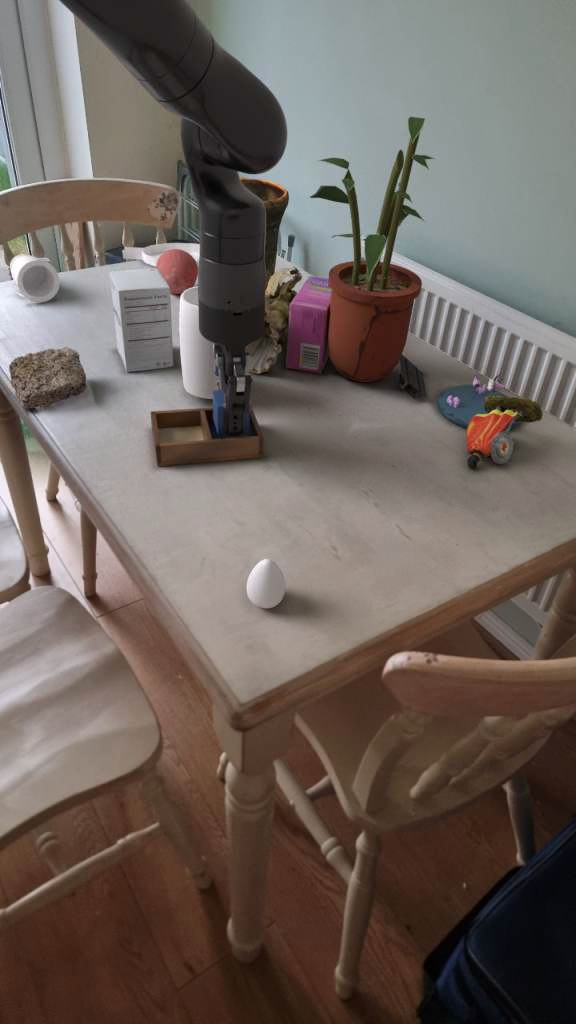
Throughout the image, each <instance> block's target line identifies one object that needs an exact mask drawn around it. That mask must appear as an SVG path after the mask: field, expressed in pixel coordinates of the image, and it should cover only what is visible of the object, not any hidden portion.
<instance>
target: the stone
mask: <svg viewBox="0 0 576 1024" xmlns="http://www.w3.org/2000/svg"><path fill="white" fill-rule="evenodd" d="M8 367H9V368H8V370H9V371H8V372H9V374H10V384H11V387H12V388H13V389H14V390H15V393H14V394H15V397H16V398H17V399H18V401H19V402H20V404H21V405H20V406H21V408H22V409H24V410H29V409H36V408H42V407H43V406H44V407H47V408H48V407H49V406H52V405H53V404H56V403H58V402H61V401H63V400H64V401H65V400H68V399H70V398H71V397H73V396H78V395H80V394H82V393H84V392H85V390H86V388H87V383H86V382H87V374H86V372H85V369H84V367H83V365H82V363H81V359H80V354H79V352H78V351H77V350H75V349H72V348H71V347H67V346H66V347H63V348H61V349H60V348H57V349H55V348H47V349H45V350H40V351H36V352H34V353H32V352H29V353H26V354H25V356H24V355H20V356H17V357H16V358H15V359H13V360H12V361H11V362H10V364H9V365H8Z"/></svg>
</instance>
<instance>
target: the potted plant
mask: <svg viewBox="0 0 576 1024" xmlns="http://www.w3.org/2000/svg"><path fill="white" fill-rule="evenodd" d="M425 120H426V118H425V117H416V116H409V117H408V119H407V129H408V132H409V135H410V137H409V141H408V145H407V149H406V154H405V155H404V152H403V149H399V151H398V152H397V154H396V156H395V157H396V158H395V160H394V162H393V165H392V168H391V172H390V176H389V180H388V182H387V186H386V190H385V195H384V198H383V203H382V206H381V210H380V215H379V219H378V224H377V225H378V226H377V228H376V234H373V233H371V234H369V233H368V234H367V235H366V237H365V238H363V241H364V250H363V251H364V252H363V253H364V259H365V260H362V238H361V236H362V234H361V225H360V214H359V205H358V197H357V192H356V187H355V185H356V182H355V180H354V179H353V176H352V174H351V171H350V168H349V166H350V161H348V160H346V159H344V158H341V157H329V158H322V159H319V160H318V162H324V163H326V164H330V165H333V166H336V167H338V168H339V167H340V168H342V169H345V170H347V171H346V173H345V175H344V178H341V183H342V184H343V186H344V188H345V191H346V192H345V191H344V190H343V189H341V188H340V187H338V186H336V185H320V186H319V188H318V189H317V190H316V192H315V193H313V194H312V195H310V196H309V198H310V199H323V200H325V201H330V202H334V203H340V204H346V205H348V206H349V213H350V219H351V220H350V221H351V230H352V233H343V234H335V235H332V236H330V238H334V237H343V238H350V239H351V238H352V245H353V246H352V247H353V260H352V261H345V262H341V263H338V264H336V265H334V266H332V267H331V268H330V270H329V271H328V278H327V279H328V284H329V286H330V288H331V289H332V292H331V302H330V312H329V323H328V334H327V338H328V350H329V359H330V360H331V362H332V364H333V366H334V368H335V369H336V371H337V372H339V373H340V374H341V375H342V376H343V377H344V378H347V379H349V380H351V381H353V382H359V383H373V382H376V381H380V380H381V379H384V378H385V377H387V376H389V374H390V373H391V372H393V370H394V369H395V368H396V367H397V366H398V365H399V363H400V357H401V355H403V352H404V350H405V348H406V344H407V339H408V335H409V330H410V326H411V319H412V314H413V310H414V304H415V299H417V298H418V297H419V295H420V294H421V291H422V287H423V286H422V285H423V281H422V279H421V277H420V276H419V275H418V274H417V273H415V272H414V271H412V270H410V269H409V268H406V267H403V266H401V265H397V264H393V263H392V258H393V253H394V247H395V243H396V239H397V234H398V230H399V227H401V226H402V223H403V221H404V220H405V219H406V218H407V217H408V216H413V217H415V218H418V219H420V220H421V221H422V222H423V223H426V221H425V220H424V218H422V216H421V215H420V214H419V213H418V211H417V210H416V209H414V208H411V206H408V205H406V204H404V202H405V199H406V200H408V201H409V202H410V203H413V200H412V198H411V195H410V194H409V193H407V189H408V186H409V181H410V178H411V177H410V176H411V172H412V167H413V163H414V161H415V162H416V163H418V164H419V165H421V166H423V167H425V168H426V169H427V170H430V168H429V165H428V164H427V160H435V158H434V157H432V156H430V155H427V154H417V153H416V151H417V146H418V143H419V140H420V135H421V131H422V130H423V128H424V126H425V125H424V124H425ZM400 176H401V177H400ZM399 178H400V180H399ZM398 181H399V182H398ZM397 185H398V189H396V188H397ZM384 249H385V251H384ZM383 254H384V256H383ZM382 257H383V261H381V259H382Z"/></svg>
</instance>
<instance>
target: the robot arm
mask: <svg viewBox="0 0 576 1024" xmlns="http://www.w3.org/2000/svg"><path fill="white" fill-rule="evenodd" d="M58 1H59V2H60V3H61V4H62V6H64V7H65V8H66V9H67V10H68V11H69V12H71V13H72V14H73V16H75V17H76V19H78V20H79V21H80V22H81V23H82V24H83V25H84V26H85V27H86V28H87V29H88V30H89V32H91V34H93V36H94V37H96V39H98V41H99V42H101V44H102V45H104V47H105V48H106V49H107V50H108V51H109V52H110V53H111V54H112V55H113V56H114V58H116V59H117V60H118V62H119V63H120V64H121V65H122V66H123V67H124V68H125V69H126V70H127V72H128V73H130V75H131V76H132V77H133V78H134V79H135V80H136V81H137V82H138V83H139V84H140V85H141V87H143V89H144V90H146V92H147V93H148V94H149V95H150V96H151V97H152V98H153V99H154V100H155V101H156V102H157V103H158V104H159V105H160V106H161V107H163V108H164V109H165V110H166V111H167V112H169V113H171V114H173V115H175V116H176V117H180V121H179V122H180V123H179V125H180V126H179V127H180V128H179V136H180V145H181V149H182V154H183V158H184V162H185V166H186V170H187V174H188V178H189V181H190V187H191V190H192V194H193V197H194V200H195V203H196V207H197V210H198V232H199V233H198V234H199V235H198V236H199V244H200V256H199V266H198V276H197V286H198V309H199V331H200V333H201V335H202V336H203V337H204V338H205V339H207V340H209V341H211V342H213V355H214V373H215V375H216V376H217V381H216V383H217V385H218V388H219V390H221V391H222V392H223V393H224V404H223V407H224V408H225V433H226V435H228V436H231V435H240V434H242V433H243V413H248V410H249V404H250V402H251V401H250V400H251V391H252V386H253V378H252V375H251V374H250V371H249V367H250V366H251V357H250V352H246V351H247V347H246V346H247V345H249V344H250V343H252V342H255V341H257V340H258V339H260V338H261V336H262V335H263V333H264V324H265V322H264V319H265V295H266V266H265V239H266V209H265V205H264V203H263V201H262V200H261V199H260V198H259V197H257V196H256V195H255V194H253V193H252V192H251V191H249V190H248V189H247V188H246V187H245V186H244V185H243V184H242V182H241V180H240V177H241V176H240V174H239V173H242V174H245V175H260V174H261V175H262V174H265V173H267V172H269V171H271V170H272V169H273V168H275V167H276V166H277V165H278V164H279V163H280V161H281V159H282V158H283V157H284V154H285V152H286V148H287V145H288V123H287V119H286V116H285V113H284V110H283V108H282V106H281V103H280V102H279V100H278V99H277V97H276V95H275V94H274V93H273V92H272V90H271V89H270V88H269V87H268V86H267V85H266V84H265V83H264V82H263V81H262V80H261V79H260V78H258V76H256V74H255V73H253V72H252V71H251V70H250V69H248V68H247V66H245V65H244V64H243V63H242V62H241V61H240V60H239V59H237V58H236V57H235V56H233V55H232V54H231V53H229V52H228V51H227V49H224V47H222V46H221V45H220V44H219V43H218V42H217V40H216V38H215V37H214V36H213V34H212V32H211V31H210V29H208V27H207V26H206V24H205V23H204V21H203V20H202V19H201V17H200V16H199V15H198V13H197V12H196V10H195V9H194V8H193V6H192V5H191V4H190V2H189V1H188V0H58Z"/></svg>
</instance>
